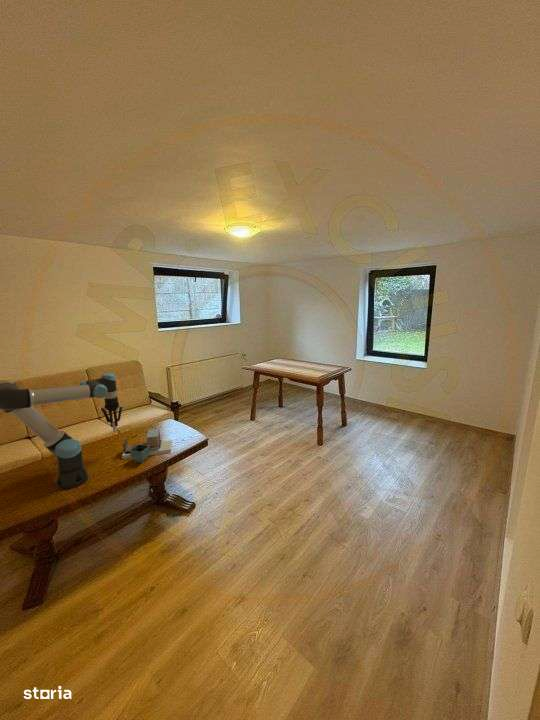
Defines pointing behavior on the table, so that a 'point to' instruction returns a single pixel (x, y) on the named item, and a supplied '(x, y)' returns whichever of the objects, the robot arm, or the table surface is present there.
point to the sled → (128, 447)
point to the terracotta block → (153, 442)
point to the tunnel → (153, 434)
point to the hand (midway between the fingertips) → (115, 431)
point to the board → (164, 449)
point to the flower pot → (139, 453)
